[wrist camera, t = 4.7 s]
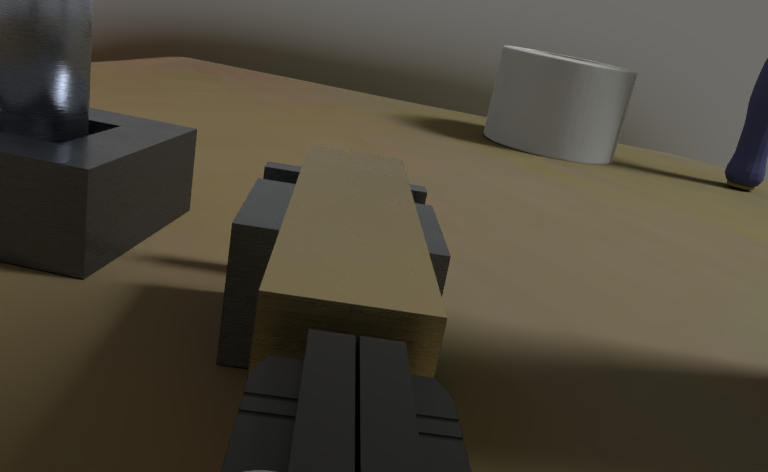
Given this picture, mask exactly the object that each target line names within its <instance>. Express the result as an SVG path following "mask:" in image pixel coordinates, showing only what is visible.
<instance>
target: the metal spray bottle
mask: <svg viewBox="0 0 768 472" xmlns="http://www.w3.org/2000/svg"><path fill="white" fill-rule="evenodd" d="M92 19H93V0H0V132H4V133H9V134H14V135H19V136H24V137H29V138H34V139H39V140H44V141H49V142H54V143H59V144H60V143H64V142H67V141H71V140H74V139H78V138H81V137H85V136H88V126H89V100H90V73H91V46H92V44H91V43H92Z"/></svg>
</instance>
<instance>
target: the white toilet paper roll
mask: <svg viewBox="0 0 768 472" xmlns="http://www.w3.org/2000/svg"><path fill="white" fill-rule="evenodd" d="M636 77H637V72H635V71H632V70H629V69H625V68H621V67H617V66H612V65H608V64H603V63H599V62H594V61H589V60H585V59H580V58H574V57H570V56H565V55H560V54H554V53H549V52H544V51H538V50H533V49H527V48H521V47H515V46H503V50H502V54H501V59H500V63H499V68H498V72H497V76H496V81H495V86H494V90H493V94H492V98H491V103H490V107H489V111H488V115H487V120H486V124H485V128H484V135H485V136H486V137H487V138H489V139H491V140H492V141H494V142H497V143H499V144H502V145H504V146H507V147H510V148H514V149H517V150H520V151H524V152H527V153H531V154H535V155H539V156H543V157H548V158H553V159H558V160H564V161H570V162H577V163H586V164H608V163H611V164H612V161H613V158H614V154H615V151H616V148H617V144H618V141H619V137H620V133H621V130H622V126H623V123H624V120H625V117H626V113H627V108H628V105H629V101H630V98H631V94H632V91H633V88H634V84H635V81H636Z"/></svg>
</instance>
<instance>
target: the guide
mask: <svg viewBox="0 0 768 472" xmlns="http://www.w3.org/2000/svg"><path fill="white" fill-rule="evenodd" d="M301 168H302V167H299V166H292V165H286V164H280V163H274V162H267V164H266V165H265V169H264V177H263V179H260V178H258V179H257V181H256V183H255V184H254V186H253V188H252V190H251V191H250V193H249V195H248V197H247V198H246V200H245V202H244V203H243V205H242V207H241V209H240V210H239V212H238V214H237V216H236V217H235V219H234V221H233V222H232V229H231V238H230V247H229V256H228V265H227V274H226V283H225V292H224V301H223V309H222V318H221V327H220V336H219V345H218V354H217V363H216V364H220V365H227V366H235V367H242V368H249V363H250V355H251V347H252V339H253V331H254V324H255V316H256V308H257V300H258V292H259V288H260V285H261V282H262V280H263V277H264V274H265V271H266V268H267V265H268V262H269V260H270V257H271V254H272V251H273V248H274V245H275V242H276V239H277V237H278V234H279V231H280V228H281V225H282V222H283V219H284V217H285V214H286V211H287V208H288V205H289V202H290V199H291V196H292V194H293V191H294V188H295V185H296V182H297V179H298V176H299V174H300V171H301ZM409 185H410V184H409ZM410 188H411V192H412V195H413V199H414V202H415V206H416V209H417V213H418V216H419V220H420V223H421V227H422V230H423V234H424V237H425V241H426V244H427V248H428V251H429V255H430V258H431V262H432V265H433V269H434V272H435V276H436V279H437V283H438V286H439V290H440V293H441V297H442V294H443V289H444V285H445V280H446V275H447V271H448V266H449V261H450V257H451V256H450V253H449V251H448V248H447V245H446V243H445V240H444V237H443V234H442V232H441V229H440V226H439V223H438V221H437V218H436V215H435V213H434V210H433V207H432V206H430V205H425V201H426V196H427V191H426V188H425V187H423V186H417V185H410Z"/></svg>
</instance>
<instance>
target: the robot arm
mask: <svg viewBox="0 0 768 472" xmlns="http://www.w3.org/2000/svg"><path fill="white" fill-rule="evenodd" d="M458 420H459V419H458V415H457V411H456V407H455V403H454V399H453V397H452V396H451V395H450V394H449V393H448V391H447V390H446V389H445V388H444V387H443V386H442V385H441V384H440V382H439V381H438V380H437V379H436V378H433V377H425V376H418V375H411V374H410V368H409V361H408V354H407V347H406V343H405V342H402V341H395V340H388V339H381V338H374V337H367V336H358V339H357V343H356V348H355V335H351V334H344V333H337V332H330V331H322V330H315V329H309V331H308V337H307V344H306V351H305V357H304V360H299V359H291V358H284V357H276V356H268V357H267V358H266V359H264V360H263V361H262V362H261V363H259V364H258V365H257V366H256V367H254V368H253V369H252V370H251V371H250V373H249V376H248V380H247V383H246V387H245V390H244V395H243V397H242V401H241V404H240V407H239V412H238V414H237V418H236V421H235V425H234V428H233V431H232V435H231V438H230V442H229V445H228V449H227V452H226V455H225V459H224V462H223V466H222V469H221V472H471V469H470V464H469V460H468V456H467V452H466V448H465V444H464V442H463V436H462V432H461V427H460V424H458Z"/></svg>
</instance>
